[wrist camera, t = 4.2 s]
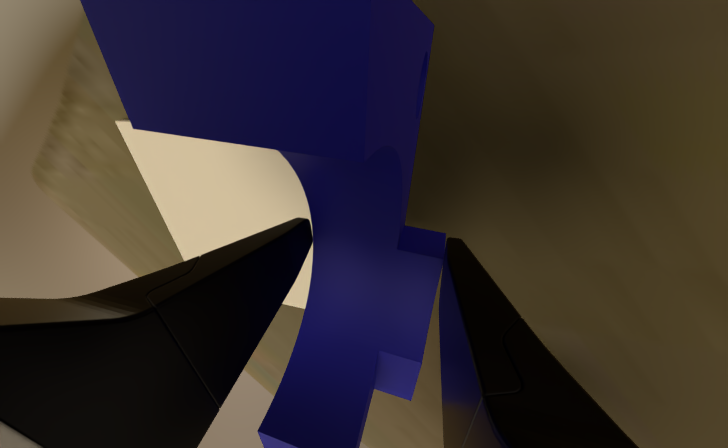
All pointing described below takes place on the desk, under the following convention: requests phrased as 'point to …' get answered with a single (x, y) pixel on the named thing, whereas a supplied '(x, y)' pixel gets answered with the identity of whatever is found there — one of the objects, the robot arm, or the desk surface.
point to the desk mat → (219, 192)
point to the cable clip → (307, 170)
